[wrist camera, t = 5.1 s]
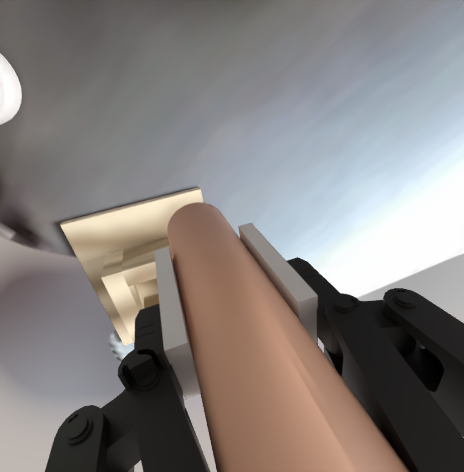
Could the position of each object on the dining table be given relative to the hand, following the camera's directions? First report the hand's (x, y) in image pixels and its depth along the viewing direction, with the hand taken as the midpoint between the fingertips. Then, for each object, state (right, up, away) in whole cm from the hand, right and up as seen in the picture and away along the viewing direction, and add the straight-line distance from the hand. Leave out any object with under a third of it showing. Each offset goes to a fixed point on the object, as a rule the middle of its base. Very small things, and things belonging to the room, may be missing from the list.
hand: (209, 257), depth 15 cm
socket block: (-9, -4, +22) cm, 24 cm away
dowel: (-1, +2, +3) cm, 4 cm away
